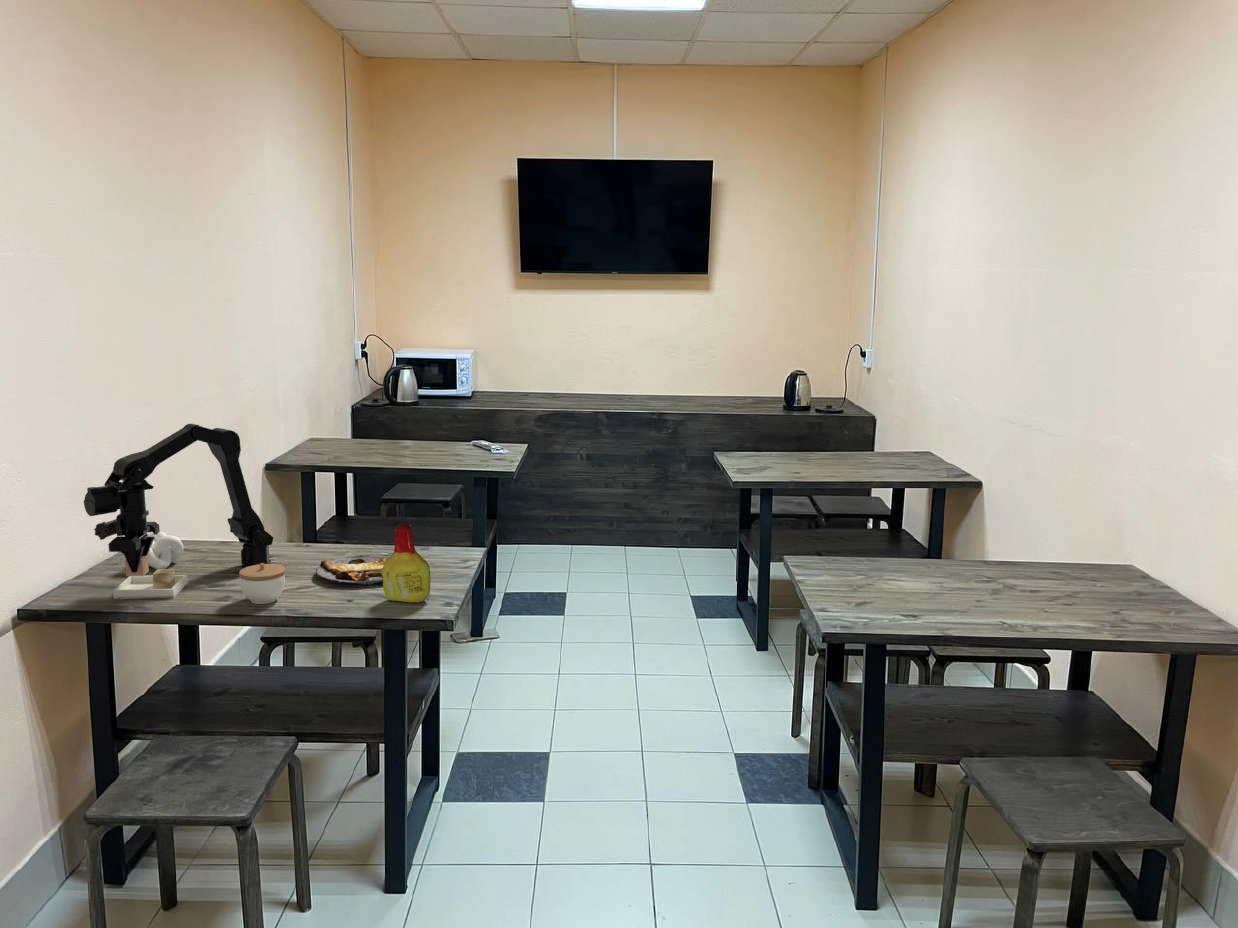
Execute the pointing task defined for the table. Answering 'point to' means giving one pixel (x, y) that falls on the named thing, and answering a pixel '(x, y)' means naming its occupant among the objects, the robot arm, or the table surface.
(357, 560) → the food plate
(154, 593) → the tray
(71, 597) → the table surface
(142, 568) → the terracotta block
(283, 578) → the lidded jar
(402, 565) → the bottle
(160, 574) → the beech block
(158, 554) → the white knot sculpture
